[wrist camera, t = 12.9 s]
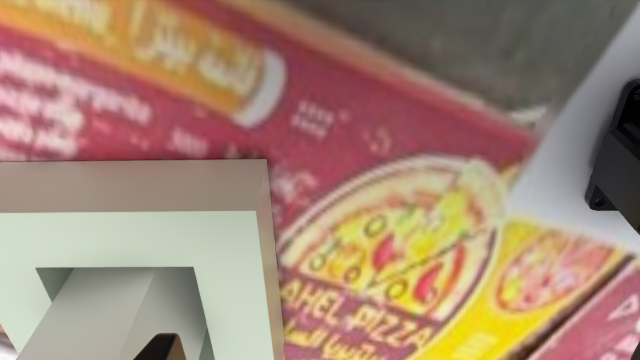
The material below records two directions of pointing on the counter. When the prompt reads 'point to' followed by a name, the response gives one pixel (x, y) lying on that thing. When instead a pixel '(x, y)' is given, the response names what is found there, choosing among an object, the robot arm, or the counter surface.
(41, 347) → the white plug block
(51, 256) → the sage block
